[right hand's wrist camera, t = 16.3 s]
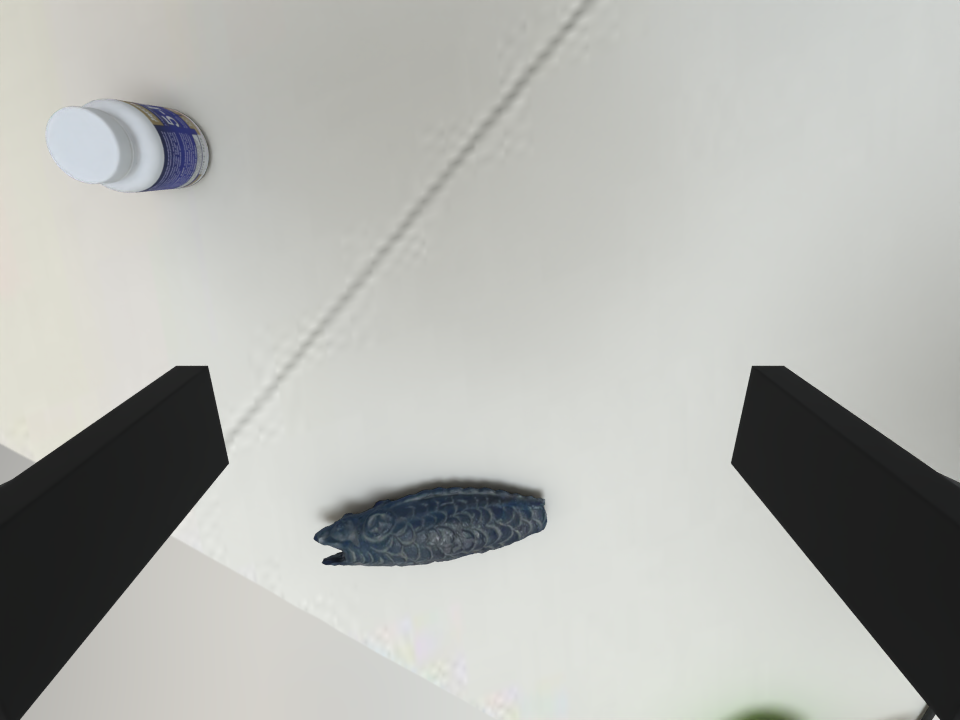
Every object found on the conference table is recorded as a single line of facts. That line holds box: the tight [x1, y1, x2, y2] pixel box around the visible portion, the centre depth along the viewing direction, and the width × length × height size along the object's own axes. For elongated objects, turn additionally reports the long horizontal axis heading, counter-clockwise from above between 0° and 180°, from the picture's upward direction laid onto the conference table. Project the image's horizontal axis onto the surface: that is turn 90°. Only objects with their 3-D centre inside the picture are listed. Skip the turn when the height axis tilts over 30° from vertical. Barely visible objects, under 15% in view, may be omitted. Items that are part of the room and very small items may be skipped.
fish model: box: [314, 487, 547, 566], centre depth 46 cm, size 7×21×5 cm, turn 96°
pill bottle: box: [46, 99, 209, 192], centre depth 32 cm, size 5×5×9 cm
